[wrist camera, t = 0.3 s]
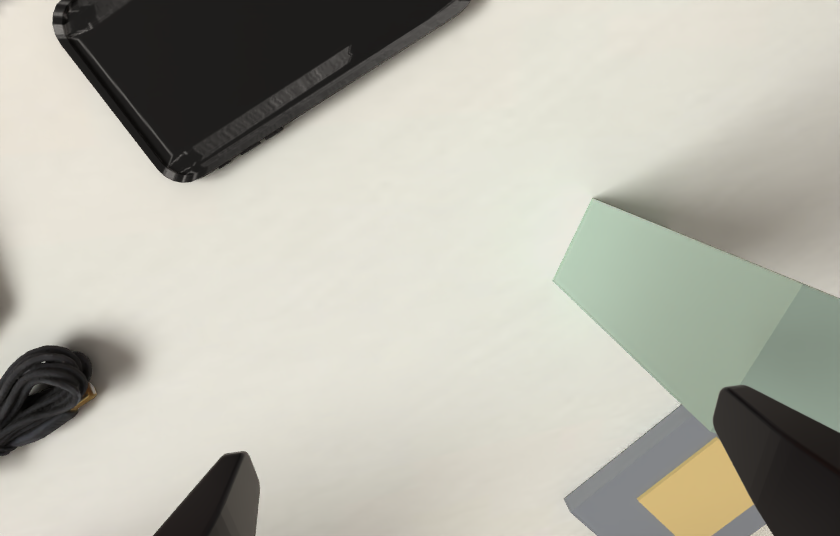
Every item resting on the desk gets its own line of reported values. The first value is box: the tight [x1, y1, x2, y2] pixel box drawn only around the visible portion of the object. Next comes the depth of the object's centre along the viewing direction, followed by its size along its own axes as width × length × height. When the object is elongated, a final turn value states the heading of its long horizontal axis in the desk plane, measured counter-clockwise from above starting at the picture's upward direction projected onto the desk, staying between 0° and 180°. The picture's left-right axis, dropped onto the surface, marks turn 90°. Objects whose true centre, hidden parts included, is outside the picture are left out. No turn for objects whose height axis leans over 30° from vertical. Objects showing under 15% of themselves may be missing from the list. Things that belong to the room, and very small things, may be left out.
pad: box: [564, 405, 766, 536], centre depth 29 cm, size 12×10×1 cm
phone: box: [53, 0, 470, 183], centre depth 19 cm, size 8×1×15 cm
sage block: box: [553, 198, 840, 434], centre depth 19 cm, size 4×4×12 cm
